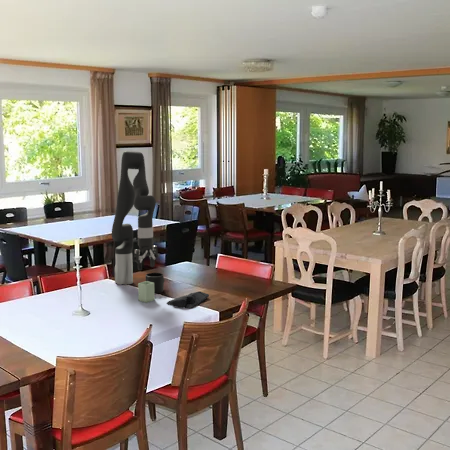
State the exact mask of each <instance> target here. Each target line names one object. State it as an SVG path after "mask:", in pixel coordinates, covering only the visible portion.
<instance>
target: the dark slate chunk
mask: <svg viewBox="0 0 450 450" xmlns="http://www.w3.org/2000/svg"><path fill="white" fill-rule="evenodd" d="M209 296H210V294H208V293H205V292H202V291H195V292H190V293H188V294H186V295H183V296H180V297H176V298H174V299H171V300H168V301H167V302H166V304H167V306H170V307H171V306H172V307H175V308H179V309H189V310H191V309H193V308H194V307H197V306H199V305H200V304H201V303H203V302H204V301H206V300H207V298H209Z"/></svg>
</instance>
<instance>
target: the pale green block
mask: <svg viewBox="0 0 450 450" xmlns="http://www.w3.org/2000/svg"><path fill="white" fill-rule="evenodd" d="M137 287H138V289H137V290H138V291H137V292H138V294H137V295H138V302H142V303H145V304H148V303H150V302H154V301H155V293H154V283H153V282H148V281H146V280H145V281H142V282H138V284H137Z"/></svg>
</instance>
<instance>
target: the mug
mask: <svg viewBox="0 0 450 450" xmlns="http://www.w3.org/2000/svg"><path fill="white" fill-rule="evenodd" d="M145 281H148V282H153V283H154V294H160V293H163V292H164V290H165V289H164V284H165V278H164V273H162V272H148V273H146V274H145Z"/></svg>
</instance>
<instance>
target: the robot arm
mask: <svg viewBox="0 0 450 450" xmlns="http://www.w3.org/2000/svg"><path fill="white" fill-rule="evenodd" d="M120 166H121V167H120V177H119V178H120V180H119V185H118V191H117V199H116V208H115V214H114V217H113V218H114V219H113V222H112V227H111V237H112V240H113V241H114V242H122V243H121V244H120V245H118V246H117V247H115V249H114V250H115V251H114V253H115V266H114V283H117V284H116V285H119V284H128V285H131V284H133V283H134V279H133V278H134V277H133V274H134V272H133V266H134V265H133V262H134V263H135V262H136V265H137V266H136V267H137V270H138V271H142V270H143V260H144V259H145V258H147V257H149V264H150V265H149V267H151V268H154V267H155V266H156V261H155V260H156V258H158V257H159V255H158V253H159V251H158V246H157V245H154V229H153V225H154V224H153V218H154V217H153V216H154V211H155V208H156V204H157V201H156V198H155V196H153V195H149V194H150V190H149V186H148V181H147V177H146V174H147V173H146V165H145V156H144V154H143V152H140V151H132V150H130V151H129V150H125V151H124V152H123V153H122V156H121V163H120ZM129 170H138V171H137V174H136V175H135V177H134V178H133V180H132V182H131V179H130V176H129ZM133 207H134V209H135V210H137V211H146V213H144V214H141V215H140V214H139V216H137V246H138V249H134V228H133V226H132V224H130V223H124V221H125V218H126V216H127V215H128V214H129V213H130V211H132V209H133Z"/></svg>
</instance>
